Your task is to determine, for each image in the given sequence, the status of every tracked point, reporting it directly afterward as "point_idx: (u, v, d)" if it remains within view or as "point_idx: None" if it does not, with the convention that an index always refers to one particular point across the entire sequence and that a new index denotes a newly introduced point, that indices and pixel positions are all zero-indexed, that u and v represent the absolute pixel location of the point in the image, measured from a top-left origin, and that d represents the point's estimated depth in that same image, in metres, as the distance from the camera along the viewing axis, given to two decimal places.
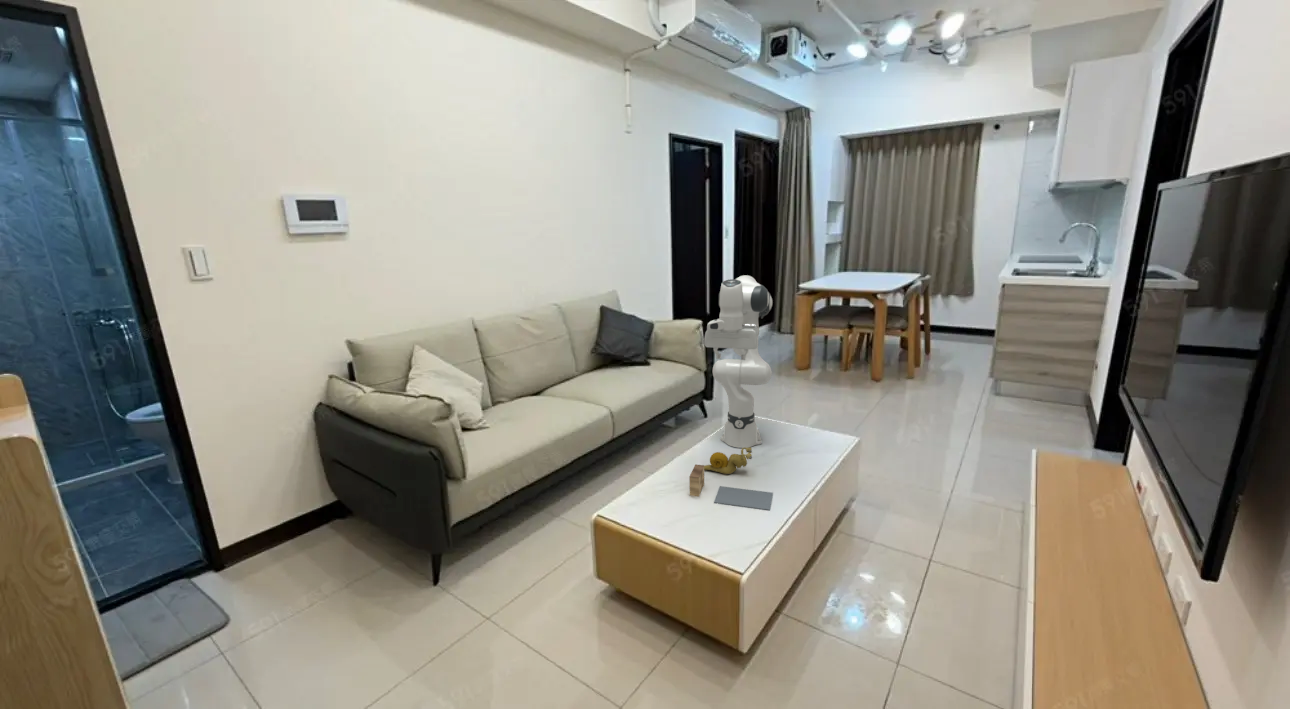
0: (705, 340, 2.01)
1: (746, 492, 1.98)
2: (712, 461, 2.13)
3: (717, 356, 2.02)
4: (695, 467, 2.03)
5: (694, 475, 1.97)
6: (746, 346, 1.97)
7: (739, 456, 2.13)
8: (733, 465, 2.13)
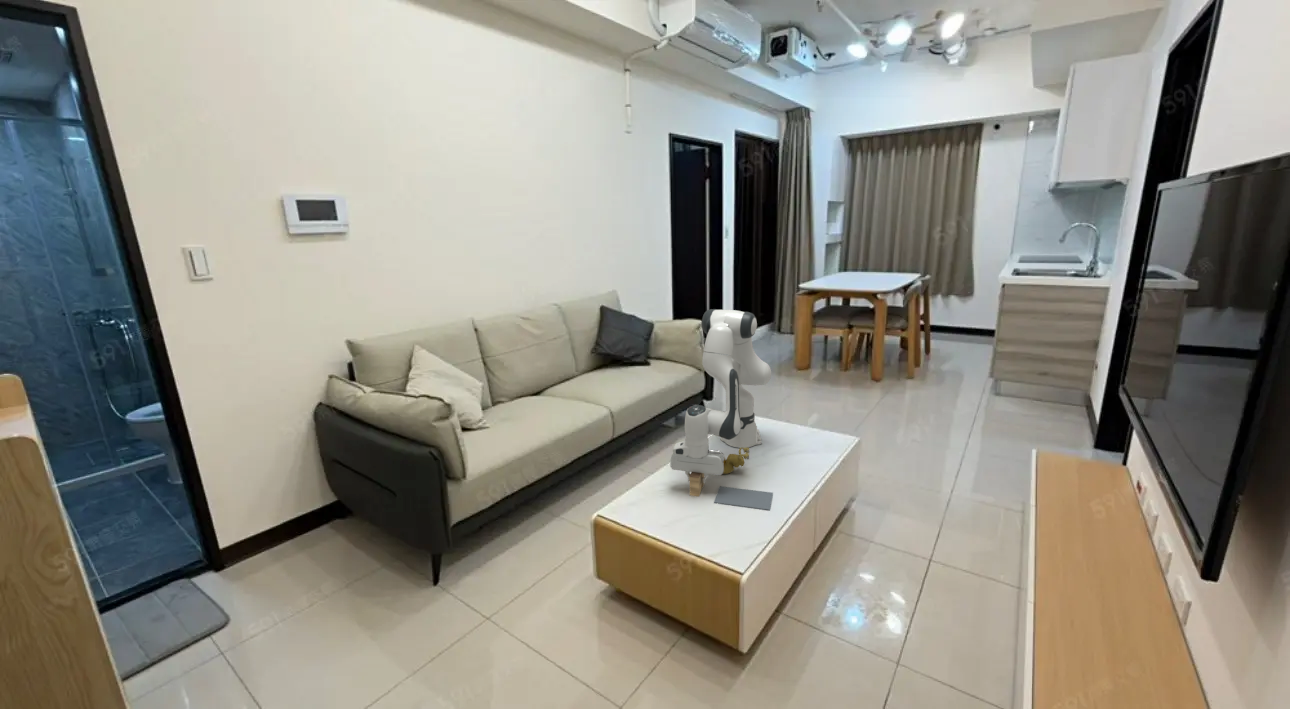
0: (671, 463, 2.01)
1: (746, 492, 1.98)
2: None
3: (689, 479, 2.01)
4: None
5: (694, 475, 1.97)
6: (711, 472, 1.97)
7: (736, 456, 2.13)
8: (730, 465, 2.13)
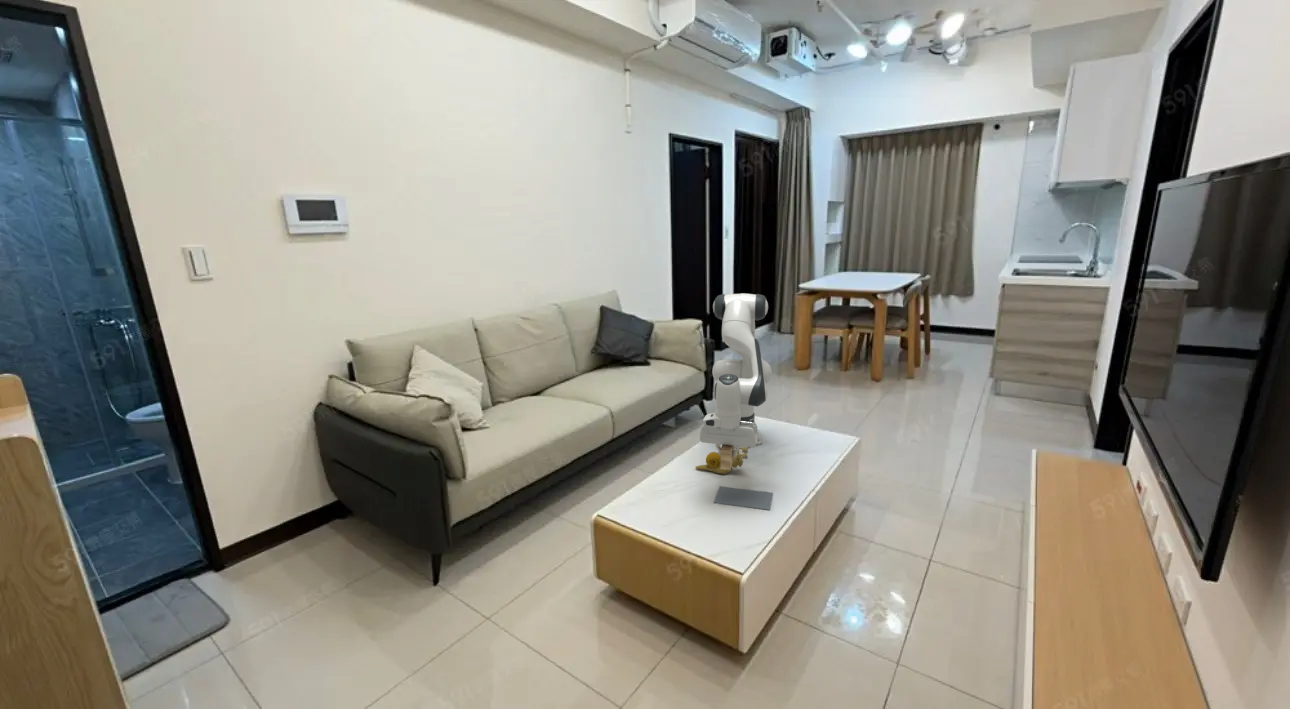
0: (701, 435, 1.92)
1: (746, 492, 1.98)
2: (708, 461, 2.14)
3: (719, 452, 1.92)
4: None
5: (725, 447, 1.88)
6: (744, 444, 1.88)
7: None
8: None
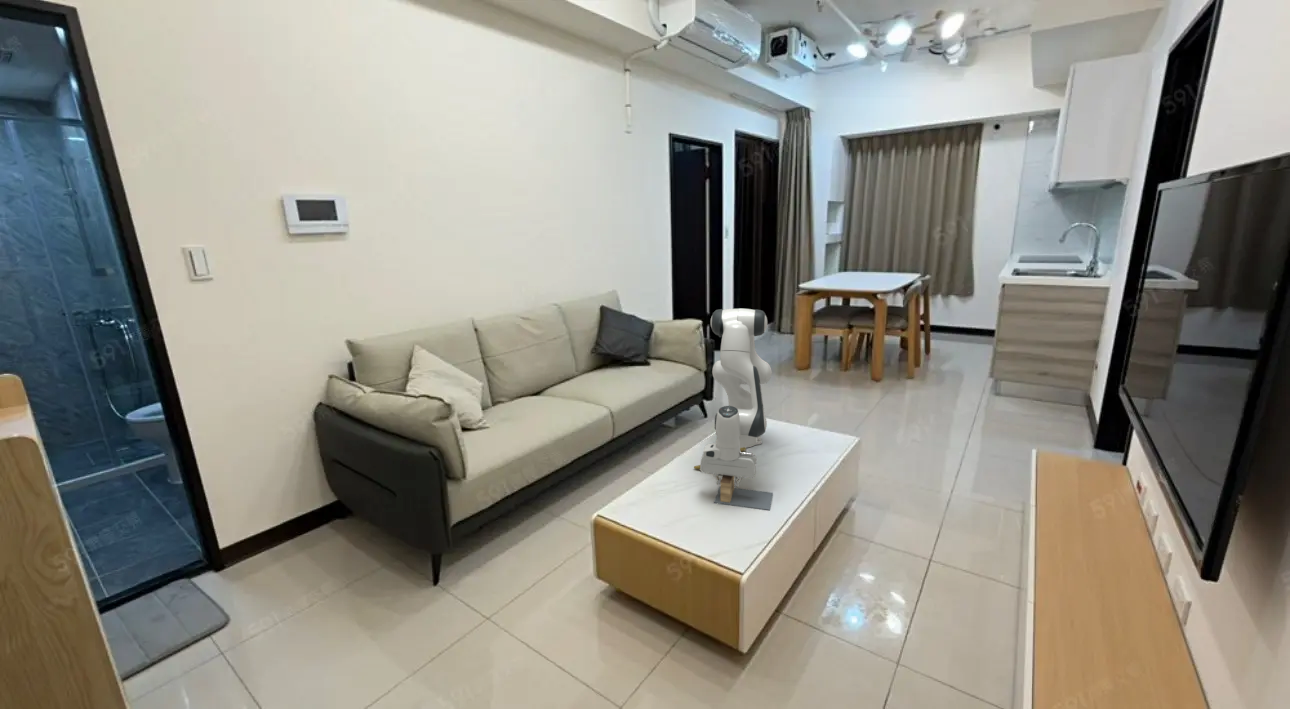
0: (701, 466, 1.95)
1: (746, 492, 1.98)
2: None
3: (717, 482, 1.96)
4: None
5: (725, 480, 1.91)
6: (743, 475, 1.91)
7: None
8: None
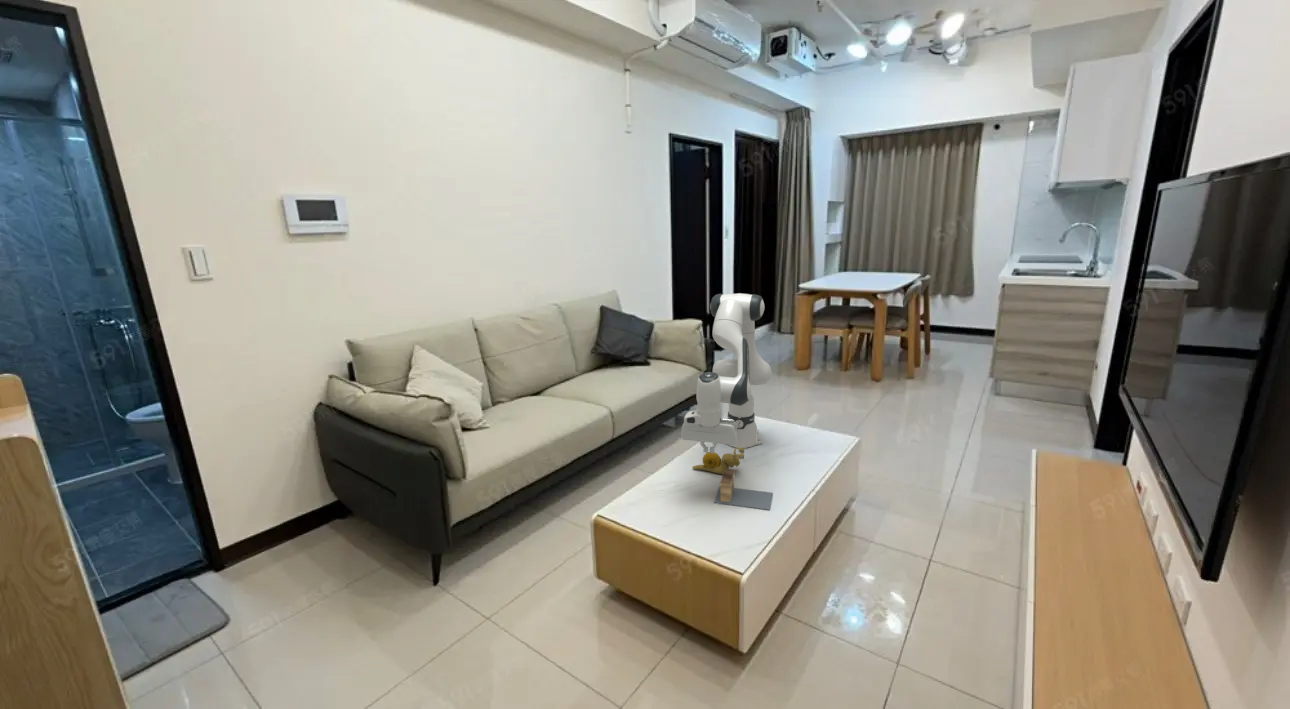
0: (682, 433, 1.94)
1: (746, 492, 1.98)
2: (705, 461, 2.14)
3: (704, 450, 1.94)
4: (725, 472, 1.97)
5: (725, 480, 1.91)
6: (724, 441, 1.90)
7: (732, 456, 2.13)
8: (726, 465, 2.13)
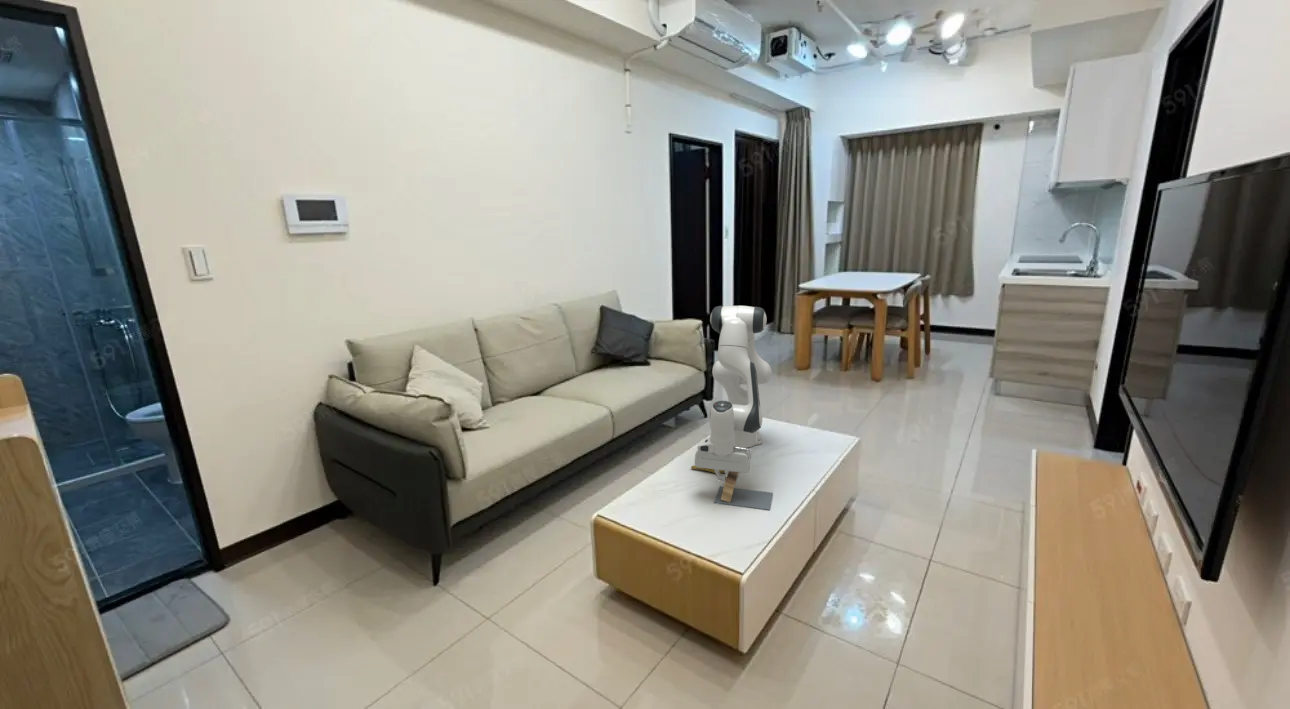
0: (695, 460, 1.95)
1: (746, 492, 1.98)
2: None
3: (718, 478, 1.95)
4: (729, 472, 1.97)
5: (730, 480, 1.91)
6: (737, 469, 1.91)
7: None
8: None
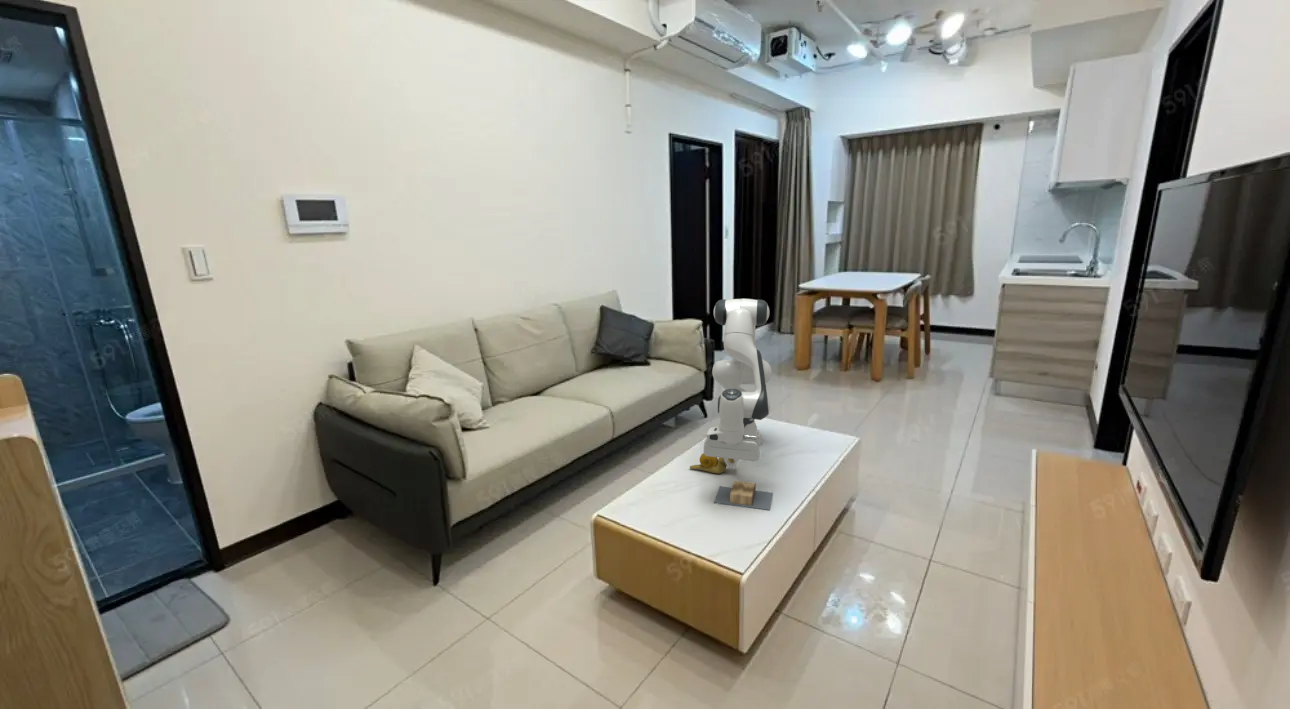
0: (704, 449, 1.93)
1: None
2: (702, 460, 2.14)
3: (728, 466, 1.93)
4: (754, 488, 1.95)
5: (752, 499, 1.90)
6: (747, 458, 1.89)
7: None
8: (723, 465, 2.13)
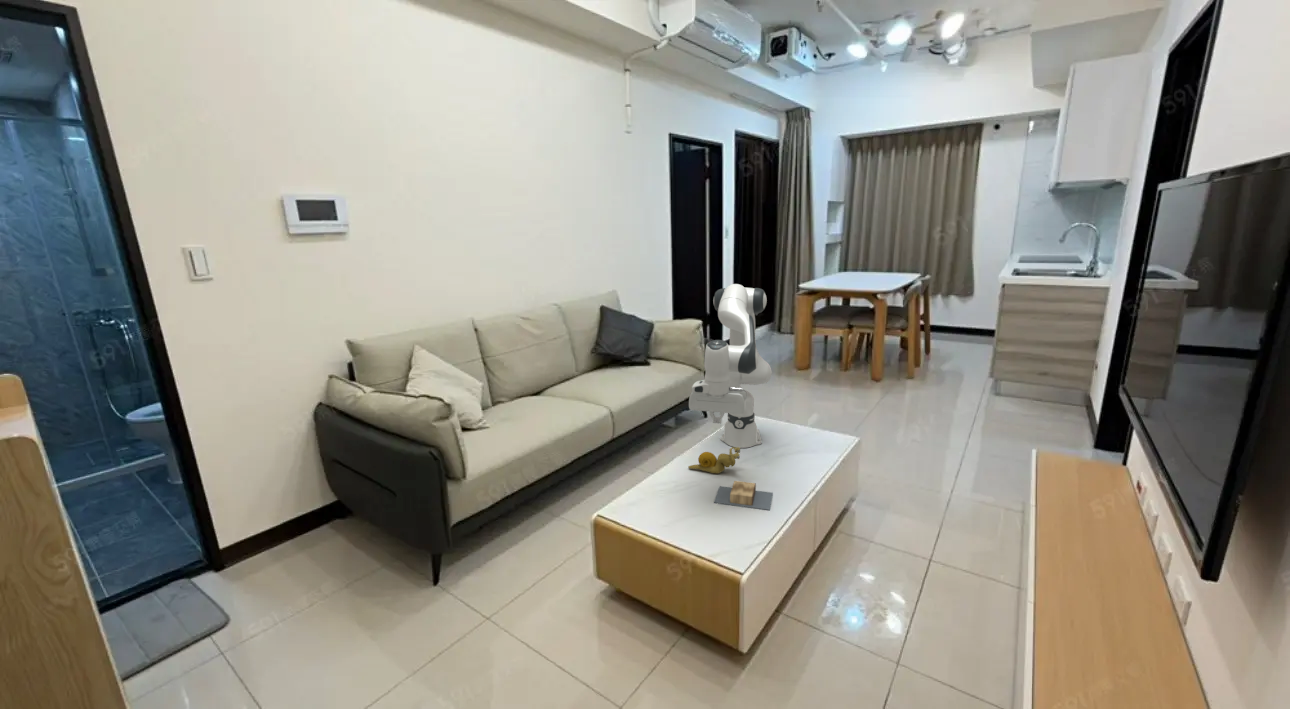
0: (690, 403, 1.90)
1: None
2: (700, 460, 2.14)
3: (713, 420, 1.90)
4: (754, 488, 1.95)
5: (752, 499, 1.90)
6: (733, 410, 1.86)
7: (727, 456, 2.14)
8: (721, 465, 2.13)
